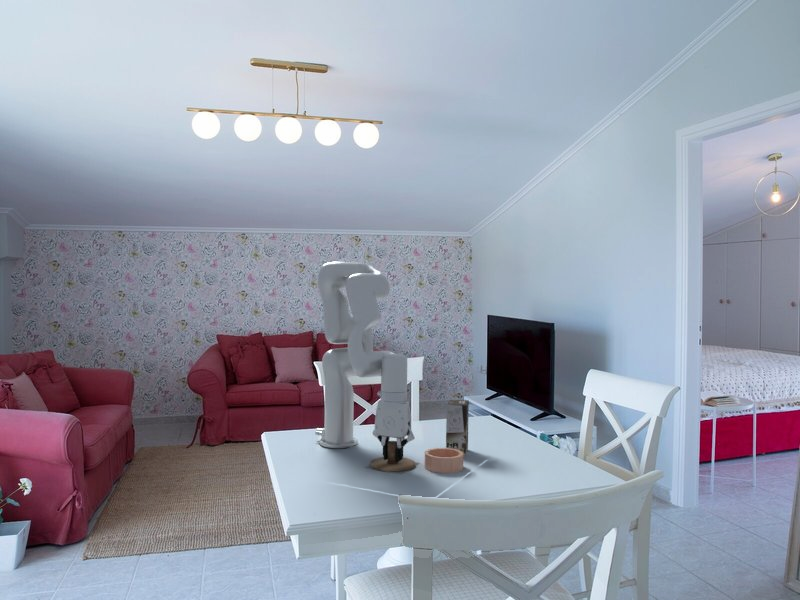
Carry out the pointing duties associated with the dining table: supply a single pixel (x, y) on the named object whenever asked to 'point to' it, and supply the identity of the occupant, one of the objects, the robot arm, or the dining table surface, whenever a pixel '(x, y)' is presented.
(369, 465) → the mat
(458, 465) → the bowl
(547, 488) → the dining table surface
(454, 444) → the coffee box
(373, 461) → the lid
